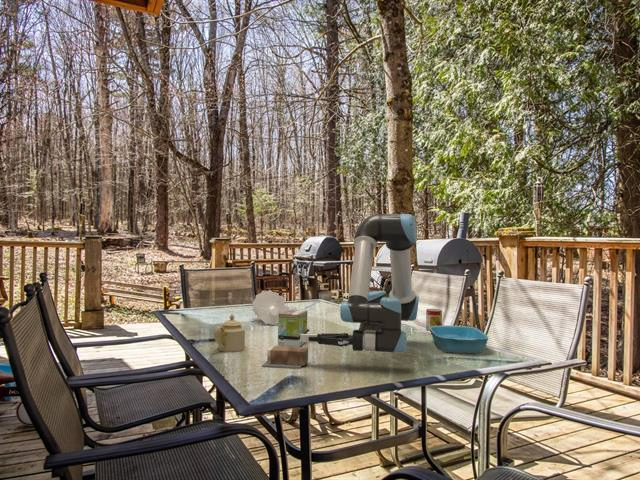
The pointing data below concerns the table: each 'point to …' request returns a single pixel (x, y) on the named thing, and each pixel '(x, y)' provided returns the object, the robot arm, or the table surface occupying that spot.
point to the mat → (281, 365)
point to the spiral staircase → (269, 307)
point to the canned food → (433, 318)
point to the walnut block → (287, 355)
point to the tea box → (291, 327)
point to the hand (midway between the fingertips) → (300, 337)
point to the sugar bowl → (230, 336)
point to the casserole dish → (459, 338)
